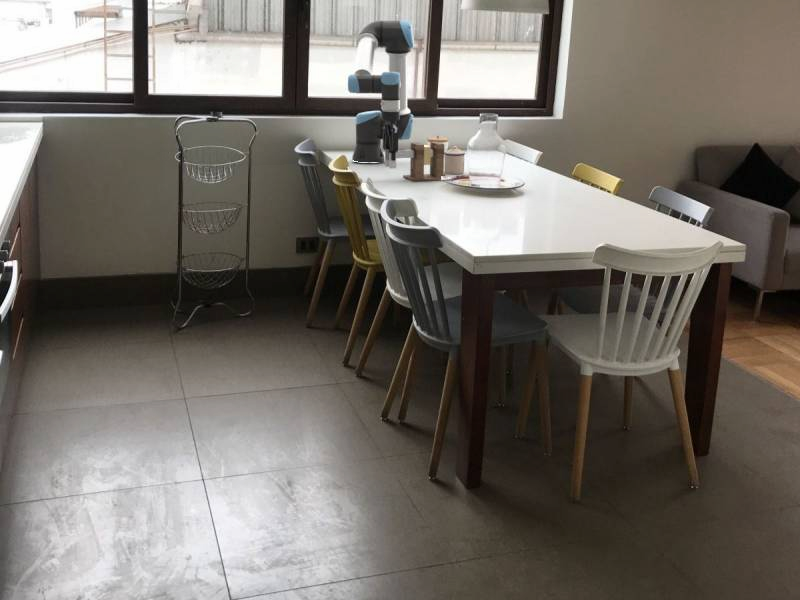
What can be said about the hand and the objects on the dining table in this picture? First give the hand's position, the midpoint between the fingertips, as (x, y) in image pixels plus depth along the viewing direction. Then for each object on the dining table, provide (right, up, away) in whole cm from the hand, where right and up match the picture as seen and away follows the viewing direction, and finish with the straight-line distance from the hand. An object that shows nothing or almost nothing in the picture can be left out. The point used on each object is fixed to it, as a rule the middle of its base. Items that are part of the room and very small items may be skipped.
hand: (390, 167), depth 396 cm
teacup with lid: (+27, +1, +25) cm, 37 cm away
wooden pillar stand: (+15, -4, +7) cm, 17 cm away
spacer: (+14, +2, +5) cm, 15 cm away
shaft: (+8, +4, +2) cm, 9 cm away
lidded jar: (+23, +17, +78) cm, 83 cm away
